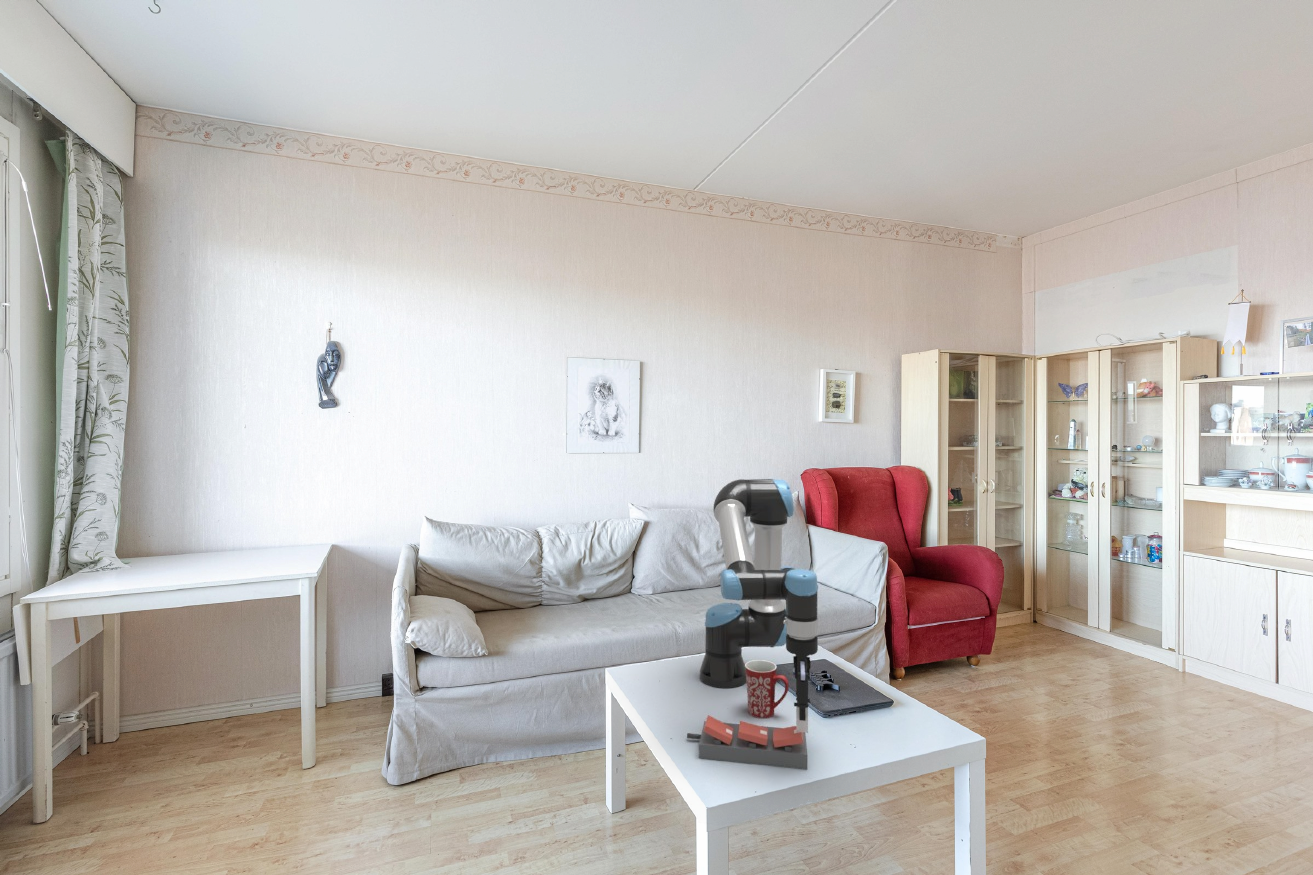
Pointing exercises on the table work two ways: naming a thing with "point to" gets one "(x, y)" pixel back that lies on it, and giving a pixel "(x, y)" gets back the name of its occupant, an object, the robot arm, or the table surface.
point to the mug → (762, 687)
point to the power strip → (751, 750)
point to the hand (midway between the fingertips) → (802, 730)
